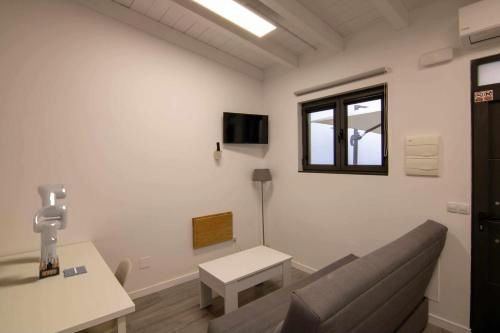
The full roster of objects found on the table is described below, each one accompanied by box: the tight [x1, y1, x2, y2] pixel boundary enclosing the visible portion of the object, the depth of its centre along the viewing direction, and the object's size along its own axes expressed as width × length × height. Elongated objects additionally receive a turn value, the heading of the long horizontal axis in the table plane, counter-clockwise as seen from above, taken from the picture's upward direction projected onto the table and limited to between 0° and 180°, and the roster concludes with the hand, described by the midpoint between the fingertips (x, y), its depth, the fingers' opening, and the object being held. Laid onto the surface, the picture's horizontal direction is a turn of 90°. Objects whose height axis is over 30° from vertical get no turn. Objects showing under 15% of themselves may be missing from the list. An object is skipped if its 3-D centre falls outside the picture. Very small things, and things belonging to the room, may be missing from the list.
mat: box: [63, 265, 88, 278], centre depth 174 cm, size 14×12×1 cm
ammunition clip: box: [38, 257, 60, 280], centre depth 166 cm, size 11×2×12 cm, turn 130°
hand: (49, 269), depth 166 cm, fingers closed on ammunition clip, 1 cm apart
